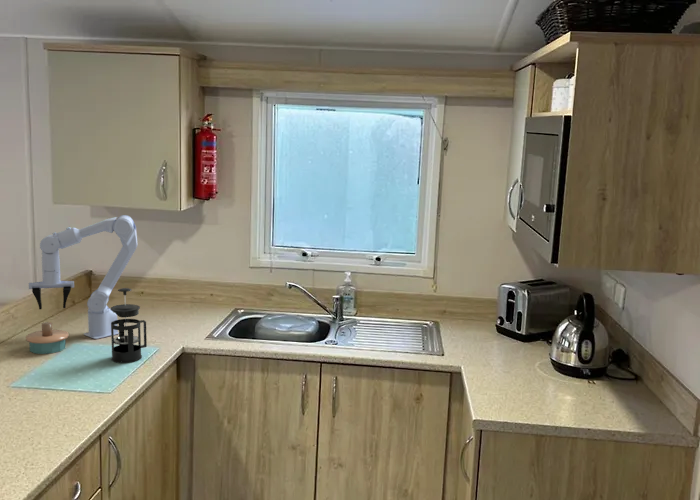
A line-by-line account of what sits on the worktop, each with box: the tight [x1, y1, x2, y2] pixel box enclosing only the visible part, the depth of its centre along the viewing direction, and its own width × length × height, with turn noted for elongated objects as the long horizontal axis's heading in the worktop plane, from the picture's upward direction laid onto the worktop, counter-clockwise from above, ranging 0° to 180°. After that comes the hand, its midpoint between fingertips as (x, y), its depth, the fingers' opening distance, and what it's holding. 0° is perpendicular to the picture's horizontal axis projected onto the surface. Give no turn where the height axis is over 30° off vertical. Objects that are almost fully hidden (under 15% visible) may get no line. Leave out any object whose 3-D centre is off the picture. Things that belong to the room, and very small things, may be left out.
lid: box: [25, 321, 70, 343], centre depth 231 cm, size 13×13×5 cm
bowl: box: [28, 339, 66, 355], centre depth 232 cm, size 11×11×4 cm
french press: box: [110, 287, 148, 364], centre depth 223 cm, size 12×9×23 cm
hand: (52, 308), depth 243 cm, fingers open, 7 cm apart
